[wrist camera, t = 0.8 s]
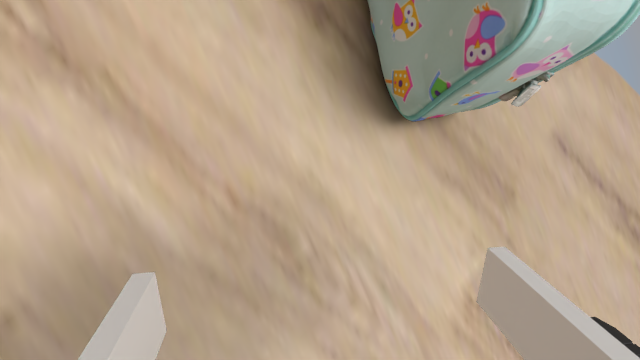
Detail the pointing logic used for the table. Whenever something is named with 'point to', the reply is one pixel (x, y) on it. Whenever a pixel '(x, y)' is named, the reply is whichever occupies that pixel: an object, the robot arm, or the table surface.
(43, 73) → the table surface
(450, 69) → the lunch box
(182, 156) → the table surface
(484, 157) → the table surface
